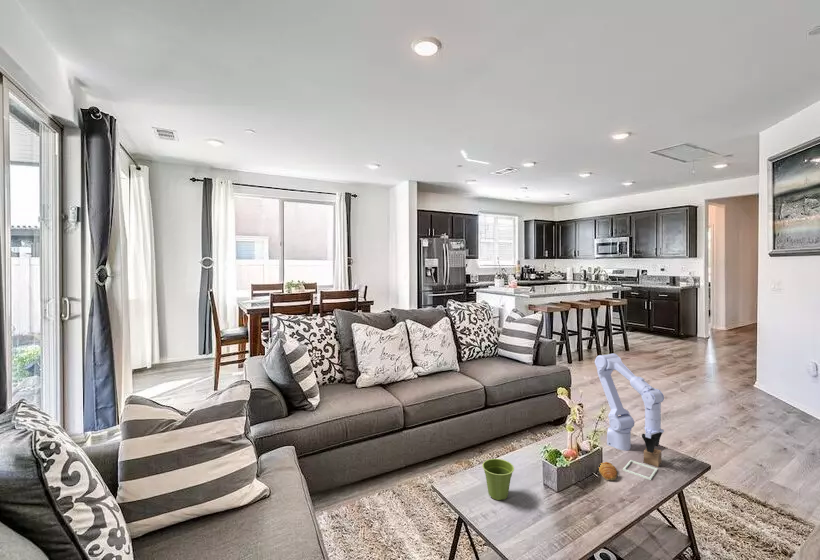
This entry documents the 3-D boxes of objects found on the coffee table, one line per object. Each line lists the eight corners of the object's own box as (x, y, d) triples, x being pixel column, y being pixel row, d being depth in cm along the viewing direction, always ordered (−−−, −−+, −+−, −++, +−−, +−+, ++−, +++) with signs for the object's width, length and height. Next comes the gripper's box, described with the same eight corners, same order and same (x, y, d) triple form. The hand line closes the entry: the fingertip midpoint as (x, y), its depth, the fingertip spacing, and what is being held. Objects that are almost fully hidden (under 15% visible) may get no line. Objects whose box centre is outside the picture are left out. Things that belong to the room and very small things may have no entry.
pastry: (620, 483, 152) (620, 474, 152) (601, 481, 154) (601, 471, 154) (615, 470, 161) (614, 462, 161) (597, 468, 163) (597, 460, 163)
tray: (622, 472, 159) (622, 469, 159) (630, 463, 166) (630, 459, 166) (650, 482, 151) (650, 478, 151) (657, 472, 159) (657, 468, 158)
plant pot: (515, 506, 139) (515, 476, 138) (482, 502, 141) (482, 473, 141) (513, 487, 151) (513, 459, 150) (482, 484, 153) (482, 457, 152)
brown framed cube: (643, 462, 165) (643, 451, 164) (647, 457, 168) (647, 446, 168) (658, 466, 161) (658, 455, 160) (661, 462, 164) (661, 450, 164)
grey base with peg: (642, 464, 165) (642, 453, 164) (646, 459, 169) (646, 448, 169) (658, 469, 160) (658, 458, 160) (662, 464, 164) (662, 453, 164)
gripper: (659, 425, 156) (659, 458, 156) (667, 415, 166) (667, 445, 166) (639, 420, 161) (639, 452, 161) (649, 411, 171) (649, 440, 171)
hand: (652, 448), depth 164 cm, fingers open, 7 cm apart
